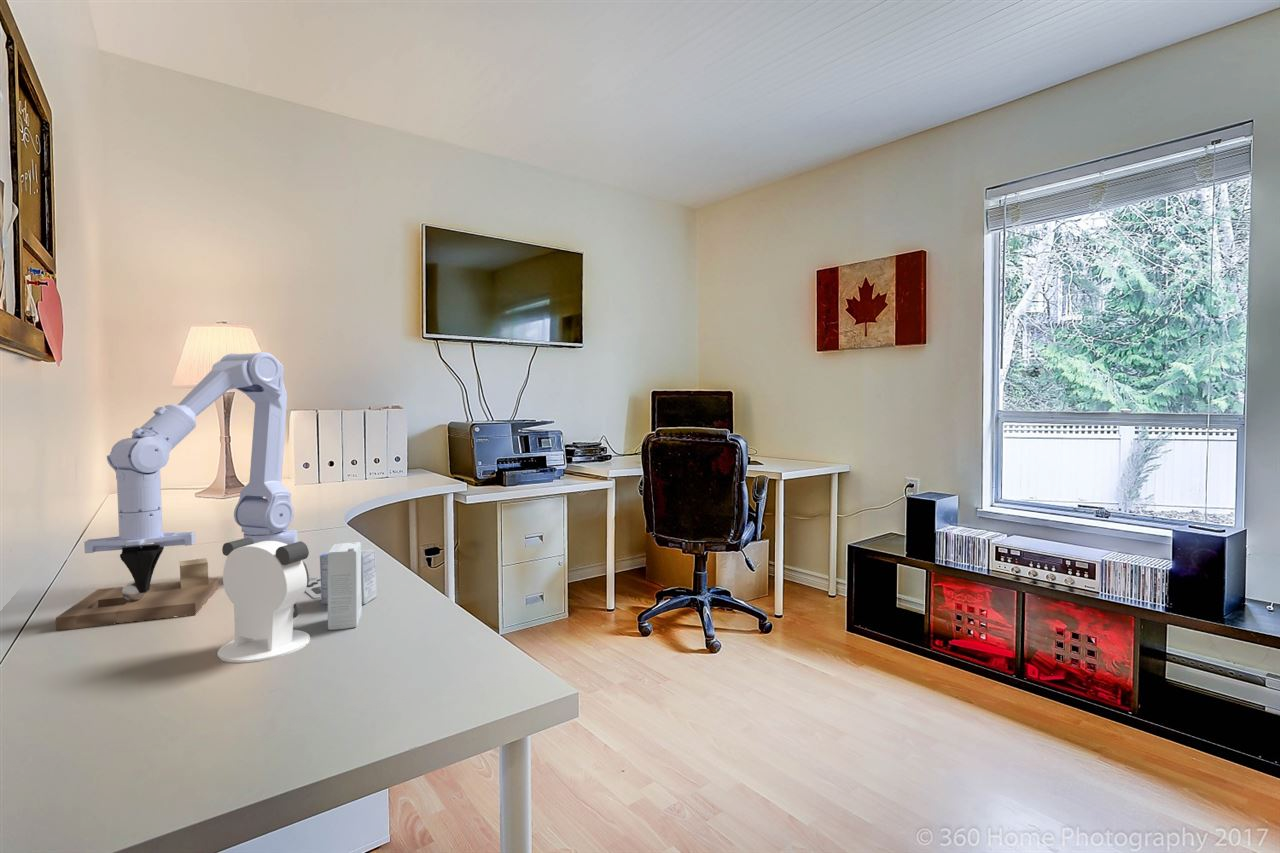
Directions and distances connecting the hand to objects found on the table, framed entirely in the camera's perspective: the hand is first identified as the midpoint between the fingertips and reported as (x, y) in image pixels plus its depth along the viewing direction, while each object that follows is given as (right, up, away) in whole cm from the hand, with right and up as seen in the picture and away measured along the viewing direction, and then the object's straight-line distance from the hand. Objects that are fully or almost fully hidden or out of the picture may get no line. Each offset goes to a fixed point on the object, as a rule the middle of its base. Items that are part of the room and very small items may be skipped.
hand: (143, 591), depth 107 cm
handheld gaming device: (+24, -3, +14) cm, 28 cm away
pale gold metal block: (+2, -1, +9) cm, 9 cm away
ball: (-1, 0, 0) cm, 1 cm away
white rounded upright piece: (+30, -4, -16) cm, 34 cm away
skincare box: (+37, -4, -6) cm, 37 cm away
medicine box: (+32, -3, +5) cm, 33 cm away
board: (-1, -3, +2) cm, 4 cm away
